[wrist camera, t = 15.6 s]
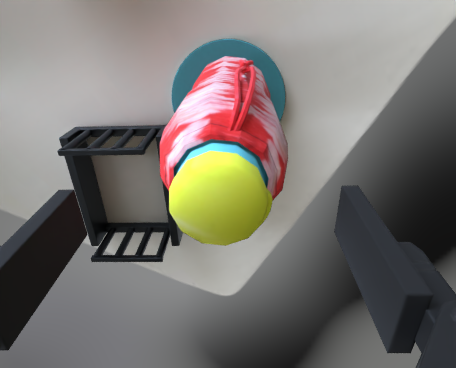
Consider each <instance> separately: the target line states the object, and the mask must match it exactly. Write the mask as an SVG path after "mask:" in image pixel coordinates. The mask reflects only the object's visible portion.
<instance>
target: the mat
mask: <svg viewBox="0 0 456 368" xmlns="http://www.w3.org/2000/svg"><path fill="white" fill-rule="evenodd" d="M225 56H229V57H238V58H245V59H247V60H248V61H253V65H254V66H256V67H257V68H258V69H259V70H261V72H262V74H263V77H264V79H265V82H266V84H267V87H268V90H269V92H270V100H271V101H272V103H273V106H274V108H275V111H276V114H277V116H278V119H279V122H280V120H281V118H282V115H283V111H284V107H285V87H284V83H283V79H282V76H281V74H280V72H279V70H278V68H277V66H276V65H275V63H274V62H273V61H272V59H271V58H270V57H269V56H268V55H267V54H266V53H265V52H264V51H262V50H261V49H259V48H258V47H256V46H254V45H252V44H250V43H248V42H245V41H241V40H236V39H221V40H216V41H212V42H209V43H206V44H204V45H202V46H200V47H199V48H197V49H196V50H194V51H193V52H192V53H191V54H190V55H189V56H188V57H187V58H186V59H185V60H184V61H183V63H182V64H181V66H180V67H179V69H178V71H177V73H176V76H175V79H174V82H173V87H172V105H173V110H174V113H175V112H176V111H177V109H178V107H179V106H180V104H181V103H182V101H183V100H184V98H185V97H186V95H187V94H188V92H190V91H191V90H192V88H193V85H194V83H195V82H196V80H197V79H198V77H199V76H200V74H201V73H202V71H203V70H204V68H205V67H206V66H207V65H208V64H210V63H212V62H214V61H216V60H218V59H220V58H222V57H225Z"/></svg>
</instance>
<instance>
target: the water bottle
mask: <svg viewBox="0 0 456 368" xmlns="http://www.w3.org/2000/svg"><path fill="white" fill-rule="evenodd" d="M287 161H288V146H287V141H286V138H285V135H284V132H283V129H282V127H281V124H280V122H279V119H278V116H277V114H276V111H275V108H274V106H273V103H272V101H271V100H270V92H269V90H268V87H267V84H266V82H265V79H264V77H263V74H262V72H261V70H259V69H258V68H257V67H256V66H254V65H253V61H248V60H247V59H245V58H238V57H229V56H225V57H222V58H220V59H218V60H216V61H214V62H212V63H210V64H208V65H207V66H206V67H205V68H204V70H203V71H202V73H201V74H200V76H199V77H198V79H197V80H196V82H195V83H194V85H193V88H192V90H191V91H190V92H188V94H187V95H186V97H185V98H184V100H183V101H182V103H181V104H180V106H179V107H178V109H177V111H176V112H175V114H174V115H173V117H172V118H171V120H170V121H169V123H168V124H167V126H166V127H165V129H164V131H163V135H162V138H161V141H160V176H161V178H162V180H163V182H164V184H165V185H166V187H167V189H168V190H169V212H170V214H171V215H172V217H173V218H174V220H175V222H176V223H177V225H178V226H179V228H180V230H181V231H182V232H184V233H185V234H187V235H189V236H191V237H192V238H194V239H196V240H197V241H199V242H201V243H205V244H215V245H225V246H226V245H229V244H232V243H235V242H238V241H241V240H244V239H247V238H249V237H250V236H251V235H252V234H253V232H254V231H255V230H256V229H257V228H258V227H259V226H260V225H261V224H262V223H263V222H264V220H265V219H266V218H267V216H268V214H269V212H270V210H271V205H272V201H273V200H274V199H275V197H276V196H277V195H278V194H279V193H280V192H281V191H282V189H283V183H284V178H285V172H286V167H287Z"/></svg>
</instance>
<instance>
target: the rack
mask: <svg viewBox="0 0 456 368" xmlns="http://www.w3.org/2000/svg"><path fill="white" fill-rule="evenodd" d="M166 126H167V125H155V126H106V127H75V128H73V129H72V130H70V131H69V132H68V133H66V134H65V135H63V136H62V137H60V138H59V140H60V143H61V146H62V148H61V149H59V150H58V155H59V156H65V160H66V163H67V166H68V169H69V173H70V176H71V179H72V183H73V186H74V189H75V193H76V196H77V199H78V203H79V206H80V209H81V212H82V216H83V219H84V222H85V226H86V229H87V232H88V236H89V239H90V242H91V246H99V244H100V243H101V241H102V240H103V241H102V243H101V244H100V246H99V247H98V249H97V251H96V252H95V254H94V255H93V256H92V257H91V261H92V262H163V256H164V253H165V250H166V247H167V243H168V240H169V237H170V236H171V242H172V246H179V245H180V241H181V237H182V234H183V232H182V231H181V230H180V228H179V226H178V225H177V223H176V222H175V220H174V218H173V217H172V215H171V214H170V212H169V190H168V189H167V187H166V185H165V184H164V182H163V180H162V182H163V188H164V195H165V202H166V209H167V215H168V222H169V223H108V221H107V218H106V214H105V210H104V206H103V202H102V198H101V194H100V191H99V187H98V183H97V179H96V175H95V171H94V167H93V164H92V160H91V155H142V154H145V151H146V149H147V148H148V146H149V145H150V143H151V142H152V141H153V139H154V138H155V136H156V141H157V148H158V155H159V161H160V141H161V138H162V135H163V131H164V129H165V127H166ZM112 136H122V137H121V138H120V139H119V140H118V141H117V142H116V143H115V144H114V145H113V146H112V147H111V148H101V147H102V146H103V145H104V144H105V143H106V142H107V141H108V140H109V139H110V138H111V137H112ZM133 136H145V137H144V139H143V140H142V141H141V143H140V144H139V145H138V146H137V147H134V148H124V146H125V145H126V144H127V143H128V142H129V141H130V140H131V139H132V137H133ZM90 137H99V138H98V139H97V140H95V141H94V142H93V143H92V144H91V145H90V146H88V144H87V141H86V140H87V139H88V138H90ZM107 232H108V233H107ZM115 232H127V233H126V235H125V237H124V238H123V240H122V242H121V244H120V246H119V248H118V250H117V252H116V254H115V255H103V253H104V251H105V249H106V248H107V246H108V244H109V243H110V241H111V239H112V237H113V236H114V234H115ZM134 232H145V234H144V236H143V238H142V240H141V243H140V245H139V247H138V249H137V252H136V254H135V255H123V254H124V252H125V250H126V248H127V246H128V244H129V242H130V240H131V238H132V235H133V233H134ZM152 232H164V234H163V237H162V240H161V243H160V246H159V248H158V251H157V254H156V255H143V253H144V251H145V249H146V246H147V244H148V241H149V239H150V236H151V234H152ZM106 233H107V234H106ZM105 235H106V236H105ZM104 236H105V238H104ZM103 238H104V239H103Z"/></svg>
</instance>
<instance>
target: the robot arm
mask: <svg viewBox="0 0 456 368" xmlns="http://www.w3.org/2000/svg"><path fill="white" fill-rule="evenodd" d="M334 232H335V235H336V237H337V239H338V242H339V244H340V246H341V248H342V251H343V253H344V255H345V257H346V260H347V262H348V264H349V266H350V269H351V271H352V273H353V276H354V278H355V280H356V282H357V285H358V287H359V289H360V291H361V294H362V296H363V299H364V301H365V303H366V305H367V307H368V310H369V312H370V314H371V316H372V319H373V321H374V323H375V326H376V328H377V330H378V332H379V335H380V337H381V339H382V342H383V344H384V346H385V348H386V351H387V353H411V351H412V349H413V346H414V343H415V342H416V344H417V346H418V347H419V349H420V351H421V353H422V354H421V357H420V359H419V361H418V363H417V366H416V368H456V294H455V292H454V291H453V290H452V288H451V287H450V286H449V285H448V283H447V282H446V281H445V279H444V278H443V277H442V276H441V274H440V273H439V272H438V271H436V268H435V267H434V265H433V264H432V263H430V260H429V259H428V258H427V256H426V255H425V254H424V252H423V251H422V250H421V249H419V248H418V247H416V246H415V245H414V244H412V243H411V242H397V241H396V240H395V238H394V237H393V235H392V234H391V233H390V231H389V230H388V228H387V227H386V225H385V224H384V223H383V221H382V220H381V218H380V217H379V215H378V214H377V212H376V211H375V209H374V208H373V207H372V205H371V204H370V202H369V201H368V200H367V198H366V197H365V195H364V194H363V192H362V191H361V189H360V188H359V186H342V187H341V194H340V200H339V206H338V213H337V219H336V225H335V231H334ZM86 236H87V231H86V227H85V224H84V221H83V217H82V214H81V211H80V208H79V204H78V201H77V198H76V195H75V191H74V190H58V191H57V192H56V193H55V194H54V195H53V196H52V197H51V198H50V199H49V200H48V201H47V202H46V203H45V204H44V205H43V206H42V207H41V208H40V209H39V210H38V211H37V212H36V213H35V214H34V215H33V216H32V217H31V218H30V219H29V220H28V221H27V222H26V223H25V224H24V225H23V226H22V227H21V228H20V229H19V230H18V231H17V232H16V233H15V234H14V235H13V236H12V237H11V238H10V239H9V240H8V241H7V242H5V244H3V245H2V246H0V350H9V349H10V347H11V346H12V344H13V343H14V341H15V340H16V338H17V337H18V335H19V334H20V332H21V331H22V330H23V328H24V326H25V325H26V324H27V322H28V321H29V319H30V317H31V316H32V315H33V313H34V312H35V311H36V309H37V308H38V306H39V305H40V303H41V302H42V300H43V299H44V297H45V296H46V294H47V293H48V291H49V290H50V288H51V287H52V286H53V284H54V283H55V281H56V280H57V278H58V277H59V275H60V274H61V272H62V271H63V270H64V268H65V267H66V265H67V264H68V262H69V261H70V259H71V258H72V256H73V255H74V253H75V252H76V250H77V249H78V248H79V246H80V245H81V243H82V242H83V240H84V239H85V237H86Z"/></svg>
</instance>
